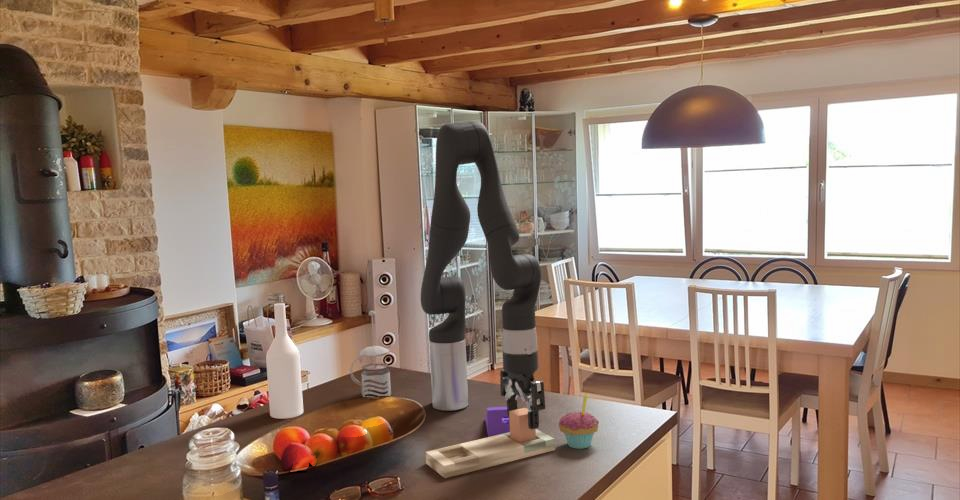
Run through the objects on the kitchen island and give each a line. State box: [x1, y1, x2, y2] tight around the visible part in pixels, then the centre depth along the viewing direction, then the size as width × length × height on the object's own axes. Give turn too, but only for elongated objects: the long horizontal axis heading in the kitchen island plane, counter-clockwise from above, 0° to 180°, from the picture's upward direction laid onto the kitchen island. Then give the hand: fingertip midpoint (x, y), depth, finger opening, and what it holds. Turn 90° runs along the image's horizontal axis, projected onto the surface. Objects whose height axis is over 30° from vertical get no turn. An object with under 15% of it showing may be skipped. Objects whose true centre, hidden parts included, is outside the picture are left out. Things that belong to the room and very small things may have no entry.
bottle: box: [265, 302, 304, 420], centre depth 174 cm, size 8×8×30 cm
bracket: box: [484, 406, 510, 437], centre depth 162 cm, size 12×7×7 cm, turn 3°
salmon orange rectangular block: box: [509, 407, 537, 444], centre depth 149 cm, size 4×4×7 cm
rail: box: [425, 428, 556, 479], centre depth 145 cm, size 9×26×2 cm, turn 118°
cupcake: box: [558, 391, 600, 450], centre depth 149 cm, size 9×8×12 cm
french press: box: [349, 310, 392, 398], centre depth 188 cm, size 10×12×25 cm
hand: (523, 422), depth 149 cm, fingers open, 8 cm apart
